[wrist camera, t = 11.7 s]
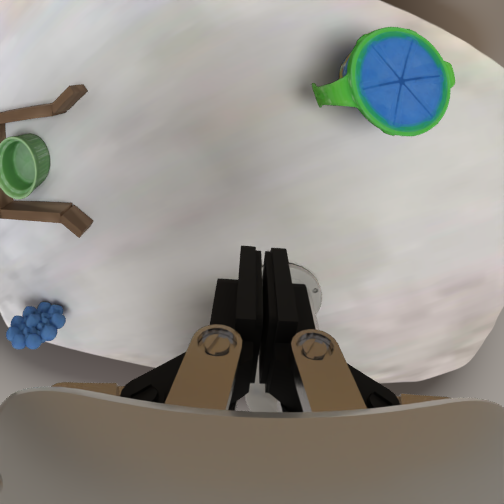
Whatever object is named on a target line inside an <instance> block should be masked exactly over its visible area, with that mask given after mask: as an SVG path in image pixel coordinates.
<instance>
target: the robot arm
mask: <svg viewBox="0 0 504 504" xmlns="http://www.w3.org/2000/svg"><path fill="white" fill-rule="evenodd" d="M321 302H322V292H321V288H320V285H319V283H318V281H317V280H316V278H315V277H314V276H313V275H312V274H311V273H310V272H309V271H307V270H306V269H304V268H302V267H300V266H296V265H293V264H289V262H288V256H287V251H286V249H281V248H271V252H269V251H265V258H264V266H263V267H262V263H261V251H256V247H252V246H241V252H240V265H239V279H238V280H232V279H218V280H217V285H216V291H215V297H214V303H213V309H212V315H211V321H210V325H208V326H205V327H202V328H201V329H199V330H198V331H197V332H196V333H195V334H194V336H193V337H192V340H191V342H190V344H189V347H188V349H187V351H186V352H185V353H183V354H181V355H179V356H177V357H176V358H174V359H172V360H170V361H168V362H166V363H164V364H162V365H161V366H159V367H157V368H155V369H153V370H151V371H149V372H147V373H145V374H144V375H142V376H140V377H138V378H136V379H134V380H132V381H130V382H129V383H128V384H126V386H118V385H117V383H73V382H62V383H56V384H54V385H52V386H51V387H36V388H28V389H24V390H20V391H17V392H15V393H13V394H11V395H10V396H9V397H8V398H6V400H5V401H4V402H3V403H2V404H1V405H0V504H504V407H502V406H501V405H499V404H497V403H495V402H491V401H489V400H483V399H478V398H449V397H440V396H426V395H425V396H424V395H413V394H400V396H396V395H395V394H394V393H393V392H391V391H390V390H389V389H387V388H386V387H384V386H382V385H381V384H379V383H378V382H376V381H374V380H373V379H371V378H369V377H368V376H366V375H365V374H363V373H362V372H360V371H358V370H357V369H355V368H354V367H352V366H350V365H349V364H347V363H346V360H345V358H344V356H343V354H342V352H341V349H340V347H339V345H338V343H337V342H336V340H335V339H334V338H333V337H332V336H331V335H329V334H328V333H326V332H323V331H320V330H319V327H318V322H317V318H316V314H317V312H318V311H319V308H320V306H321ZM244 395H245V399H246V403H247V405H248V407H249V410H250V411H251V412H249V411H236V408H237V402H238V400H239V399H240V398H241V397H243V396H244Z"/></svg>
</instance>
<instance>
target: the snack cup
mask: <svg viewBox="0 0 504 504" xmlns="http://www.w3.org/2000/svg"><path fill="white" fill-rule="evenodd" d="M454 84H455V77H454V72H453V68H452V65H451V64H450V63H448V62H446V61H443V59H442V57H441V56H440V54H439V53H438V51H437V50H436V49H435V47H434V46H433V45H432V44H431V43H430V42H429V41H427V40H426V39H425V38H423V37H422V36H421V35H419V34H417V33H416V32H415V31H412V30H410V29H404V28H398V27H387V28H381V29H378V30H375V31H372V32H370V33H369V34H364V35H363V36H362V37H360V38H359V39H358V40H357V43H356V45H355V47H354V48H353V50H352V52H351V53H350V54H349V55H348V57H346V59H345V60H344V62H343V63H342V65H341V68H340V73H339V80H337V81H335V82H333V83H330V84H326V85H323V86H320V87H317V86H316V84H315V83H312V88H313V91H314V94H315V97H316V100H317V103H318V105H319V107H322V105H334V106H335V105H338V106H349V107H356V108H358V109H359V111H360V112H361V113H362V115H363V116H364V117H365V118H366V119H367V120H368V121H369V122H371V123H372V124H373V125H375V126H376V127H378V128H379V129H381V130H382V131H383V132H384V133H386V134H389V135H392V136H394V135H399V136H416V135H419V134H422V133H425V132H427V131H428V130H430V129H432V128H433V127H434V126H435V125H437V124H438V122H439V121H440V120H441V118H442V117H443V115H444V114H445V111H446V110H447V107H448V103H449V99H450V88H452V87H453V86H454Z"/></svg>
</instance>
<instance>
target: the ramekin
mask: <svg viewBox="0 0 504 504" xmlns="http://www.w3.org/2000/svg"><path fill="white" fill-rule="evenodd" d="M49 166H50V158H49V153H48V149H47V147H46V145H45V143H44V142H43V141H42V140H41V139H40V138H39V137H38V136H36V135H33V134H24V135H20V136H12V137H8V138H6V139H4V140H3V141H2V142H1V143H0V188H1V189H2V190H3V191H4V193H5V194H7V195H8V196H9V197H11V198H14V199H23V198H25V197H27V196H29V195H30V194H31V193H32V191H33V190H34V189H35V188H36V187H37V186H39V185H40V184H41V183H42V182H43V181H44V180H45V178H46V177H47V175H48V171H49Z"/></svg>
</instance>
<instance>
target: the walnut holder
mask: <svg viewBox="0 0 504 504" xmlns="http://www.w3.org/2000/svg"><path fill="white" fill-rule="evenodd" d="M86 92H87V89H86V88H85V86H84V85H73V86H69V87H68V88H67V89H66V90H65V91H64V92H63V93H62V94H61V95H60V96H59V97H58V98H57V99H56V100H55V101H54V102H53V103H50V104H43V105H36V106H30V107H25V108H19V109H14V110H9V111H4V112H0V143H1V142H2V141H3V140H4V139H6V135H5V123H8V122H14V121H20V120H26V119H33V118H40V117H48V116H54V115H58V114H61V113H65V112H67V110H69V109H70V108H71V107H72V106H73V105H74V104H75V103H76V102H77V101H78V100H79V99H80V98H81V97H82V96H83V95H84V94H85V93H86ZM0 218H2V219H15V220H28V221H41V222H54V223H62V224H63V225H64V226H65V227H67V228H68V229H69V230H70V231H71V232H73V233H74V234H75V235H76V236H77V237H79V238H80V237H81V235H82V234H83V233H84V232H85V231H86V230H87V229H88V228H89V227H90V226H91V224H92V222H93V220H92V219H91V218H90V217H88V216H87V215H86V214H85V213H83V212H82V211H81V210H80V209H79V208H77V207H76V206H75V205H73V206H72V203H63V202H40V201H13V198H11V197H9V196H8V195H7V194H5V193H4V191H3V190H2V189H1V188H0Z"/></svg>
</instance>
